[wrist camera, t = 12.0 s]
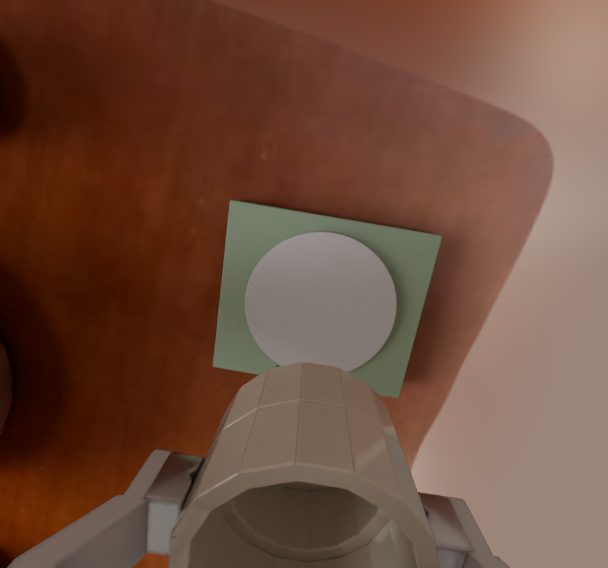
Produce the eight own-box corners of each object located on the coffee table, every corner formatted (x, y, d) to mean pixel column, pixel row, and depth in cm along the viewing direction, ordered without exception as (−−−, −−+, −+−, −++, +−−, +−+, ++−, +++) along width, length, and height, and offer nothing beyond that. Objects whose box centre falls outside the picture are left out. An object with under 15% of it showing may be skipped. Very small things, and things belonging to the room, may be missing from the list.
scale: (430, 233, 24) (446, 236, 21) (391, 382, 27) (401, 403, 24) (238, 200, 24) (227, 199, 21) (221, 353, 27) (209, 371, 24)
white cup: (406, 371, 11) (474, 492, 7) (370, 507, 13) (402, 686, 8) (235, 343, 11) (175, 443, 7) (219, 482, 13) (161, 647, 8)
